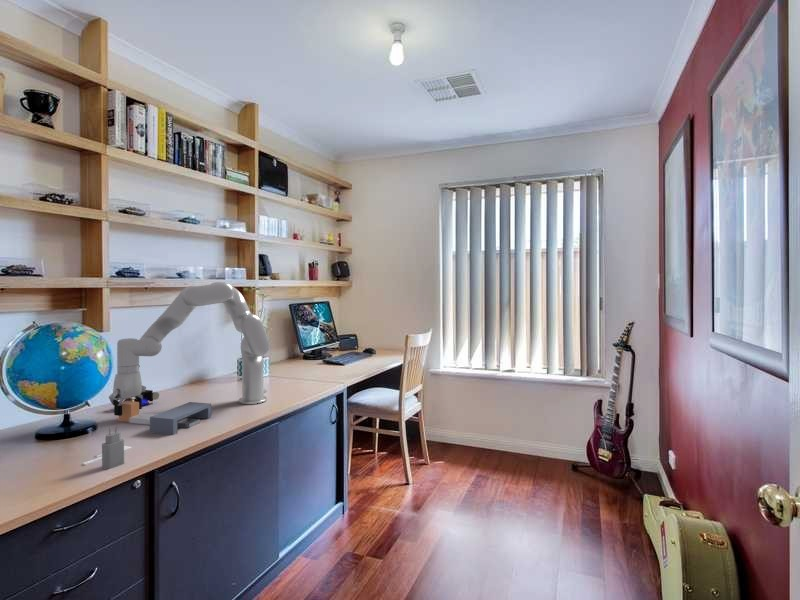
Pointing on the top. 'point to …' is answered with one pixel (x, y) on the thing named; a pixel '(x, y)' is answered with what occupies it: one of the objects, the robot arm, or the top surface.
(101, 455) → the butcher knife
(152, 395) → the figurine character
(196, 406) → the riser shelf
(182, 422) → the steel token
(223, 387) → the top surface
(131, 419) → the scraper tool
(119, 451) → the power adapter
